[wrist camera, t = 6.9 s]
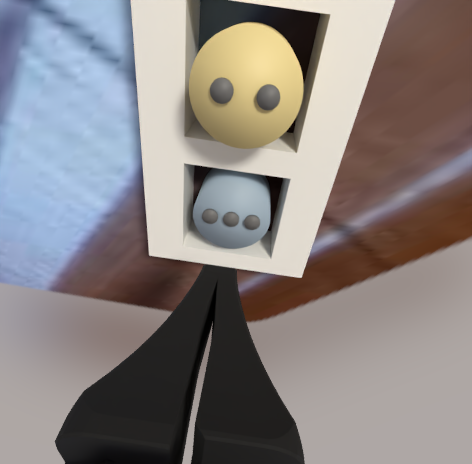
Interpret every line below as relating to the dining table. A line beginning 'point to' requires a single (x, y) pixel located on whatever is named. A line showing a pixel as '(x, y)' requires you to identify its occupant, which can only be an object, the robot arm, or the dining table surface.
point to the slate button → (233, 208)
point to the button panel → (256, 159)
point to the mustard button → (246, 85)
